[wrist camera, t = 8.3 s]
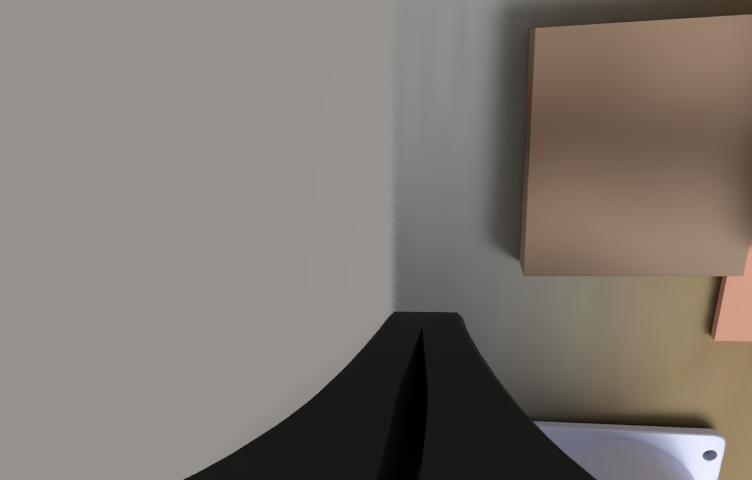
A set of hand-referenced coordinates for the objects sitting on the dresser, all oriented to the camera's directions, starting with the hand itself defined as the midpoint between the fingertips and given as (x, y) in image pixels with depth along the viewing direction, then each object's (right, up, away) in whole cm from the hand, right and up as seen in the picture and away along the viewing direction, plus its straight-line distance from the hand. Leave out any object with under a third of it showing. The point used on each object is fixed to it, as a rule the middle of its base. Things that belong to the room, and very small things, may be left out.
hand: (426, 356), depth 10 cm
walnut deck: (+8, +5, +7) cm, 12 cm away
